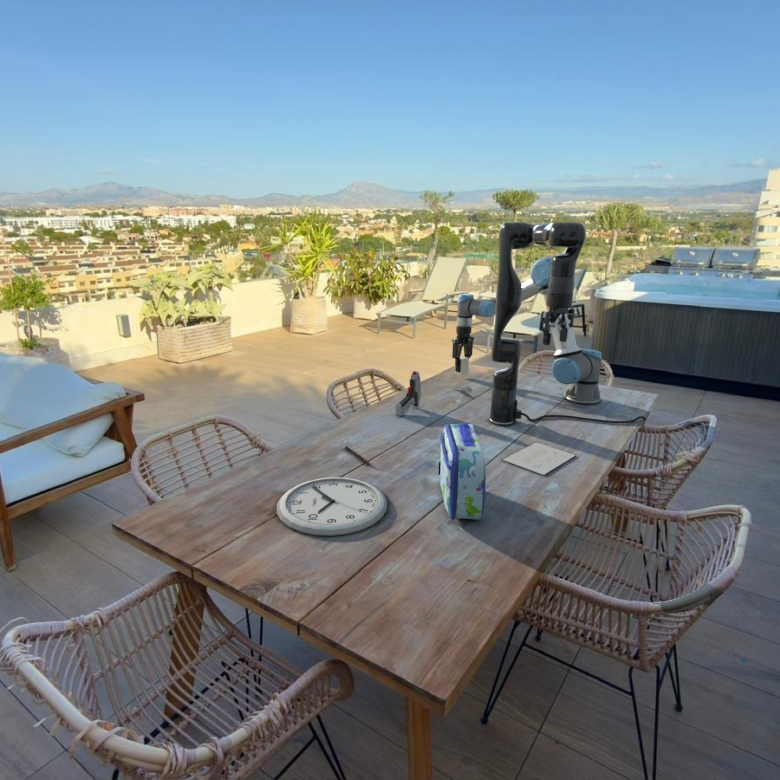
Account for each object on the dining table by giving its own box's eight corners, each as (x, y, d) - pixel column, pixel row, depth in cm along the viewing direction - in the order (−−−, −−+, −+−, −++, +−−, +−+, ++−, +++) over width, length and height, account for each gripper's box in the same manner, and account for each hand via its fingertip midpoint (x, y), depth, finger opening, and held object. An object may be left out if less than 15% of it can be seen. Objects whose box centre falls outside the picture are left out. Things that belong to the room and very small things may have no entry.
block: (460, 372, 270) (461, 355, 268) (468, 374, 266) (469, 357, 264) (454, 373, 268) (455, 357, 265) (461, 375, 264) (462, 359, 261)
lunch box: (436, 479, 158) (439, 414, 152) (472, 480, 158) (476, 415, 152) (443, 526, 133) (448, 451, 127) (486, 527, 133) (492, 452, 127)
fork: (466, 397, 235) (466, 393, 234) (453, 387, 250) (453, 383, 249) (471, 397, 236) (472, 392, 235) (458, 387, 250) (458, 383, 250)
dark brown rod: (344, 448, 179) (344, 445, 179) (346, 448, 179) (346, 445, 179) (367, 464, 167) (367, 462, 167) (368, 464, 167) (368, 461, 167)
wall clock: (392, 527, 129) (268, 531, 127) (391, 533, 130) (269, 537, 127) (383, 473, 158) (282, 475, 155) (383, 478, 158) (282, 480, 156)
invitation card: (535, 442, 186) (575, 454, 176) (535, 442, 187) (575, 455, 176) (502, 459, 172) (543, 474, 162) (502, 460, 172) (543, 475, 162)
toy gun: (394, 379, 206) (416, 369, 217) (395, 417, 212) (416, 405, 223) (399, 380, 205) (420, 370, 216) (400, 418, 211) (421, 406, 222)
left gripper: (563, 288, 166) (558, 338, 171) (535, 291, 158) (530, 343, 162) (584, 290, 160) (578, 342, 165) (557, 293, 152) (551, 348, 157)
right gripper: (470, 322, 268) (468, 366, 275) (446, 326, 257) (443, 371, 264) (481, 324, 262) (478, 369, 269) (456, 328, 252) (454, 375, 259)
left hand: (554, 343), depth 164 cm, fingers open, 8 cm apart
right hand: (461, 370), depth 267 cm, fingers closed on block, 4 cm apart
